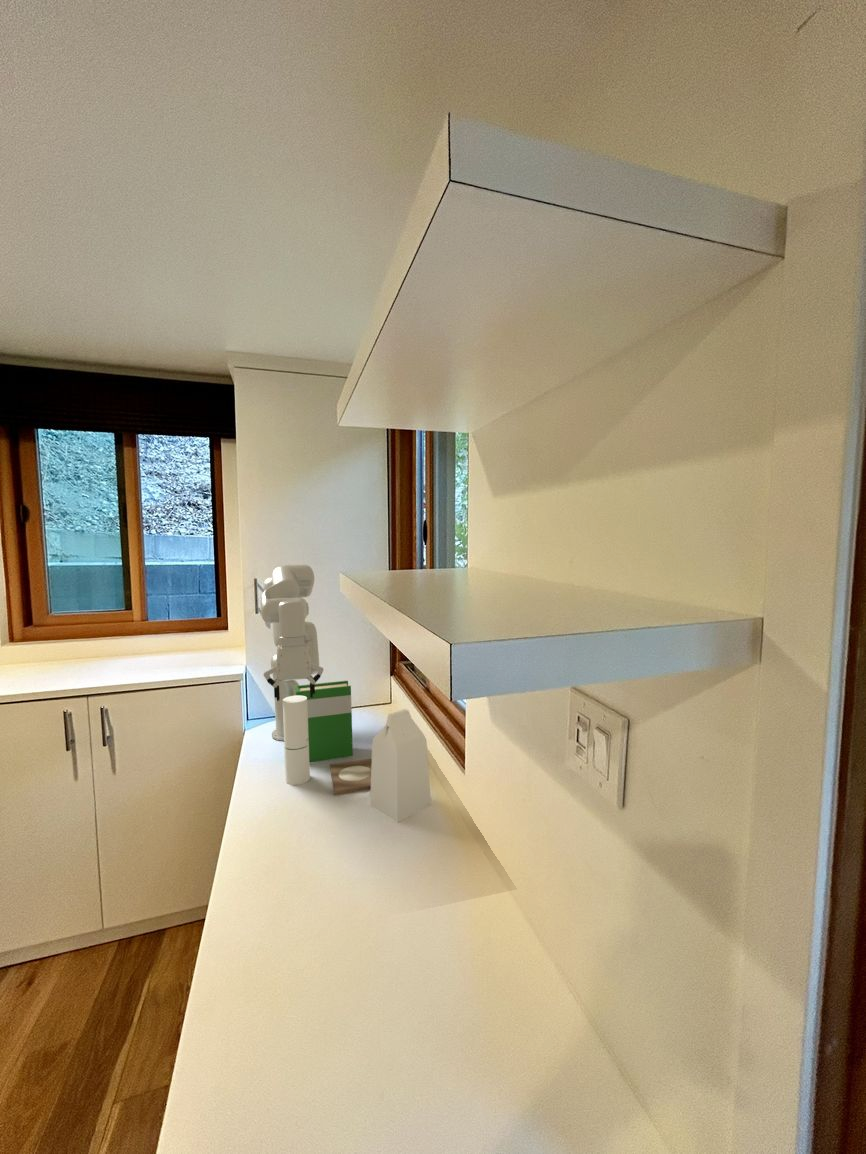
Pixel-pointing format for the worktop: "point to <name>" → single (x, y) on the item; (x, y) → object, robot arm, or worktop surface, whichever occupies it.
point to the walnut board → (351, 776)
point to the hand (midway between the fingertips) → (295, 698)
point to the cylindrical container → (296, 739)
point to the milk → (399, 768)
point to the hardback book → (329, 720)
